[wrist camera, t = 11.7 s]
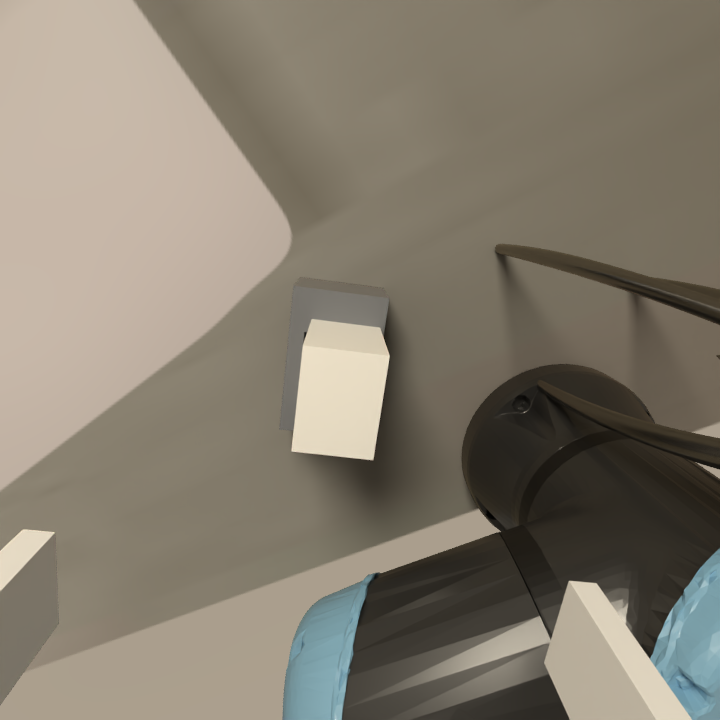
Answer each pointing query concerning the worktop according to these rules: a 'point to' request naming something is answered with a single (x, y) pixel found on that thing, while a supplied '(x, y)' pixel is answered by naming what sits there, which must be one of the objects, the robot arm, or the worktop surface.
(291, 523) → the worktop surface
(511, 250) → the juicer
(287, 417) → the socket block
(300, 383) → the plug
